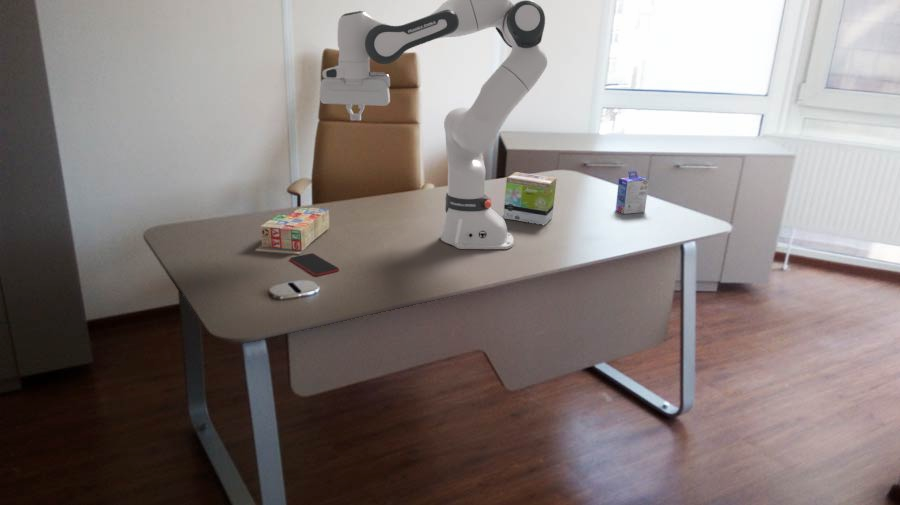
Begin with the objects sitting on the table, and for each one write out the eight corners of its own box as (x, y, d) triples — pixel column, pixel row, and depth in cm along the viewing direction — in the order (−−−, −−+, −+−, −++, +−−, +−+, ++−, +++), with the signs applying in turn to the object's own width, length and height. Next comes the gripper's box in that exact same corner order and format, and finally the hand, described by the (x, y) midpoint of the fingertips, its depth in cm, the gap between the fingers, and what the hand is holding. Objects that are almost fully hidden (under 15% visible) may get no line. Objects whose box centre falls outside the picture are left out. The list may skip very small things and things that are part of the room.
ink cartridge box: (635, 208, 240) (641, 169, 235) (645, 212, 235) (651, 173, 230) (614, 210, 236) (619, 171, 231) (623, 214, 232) (629, 174, 227)
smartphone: (312, 252, 182) (340, 269, 171) (312, 255, 182) (340, 272, 172) (288, 258, 178) (315, 274, 167) (288, 261, 178) (315, 278, 167)
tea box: (502, 219, 220) (505, 177, 215) (511, 212, 229) (514, 171, 224) (545, 226, 215) (549, 182, 210) (553, 218, 224) (557, 176, 219)
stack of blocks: (330, 228, 203) (293, 224, 205) (329, 208, 201) (292, 205, 203) (301, 251, 183) (261, 246, 186) (300, 230, 181) (259, 226, 183)
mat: (325, 227, 205) (325, 226, 204) (299, 255, 181) (299, 253, 181) (285, 224, 206) (284, 223, 206) (254, 251, 182) (254, 250, 182)
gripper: (392, 71, 188) (392, 119, 193) (322, 69, 190) (325, 117, 195) (388, 73, 182) (388, 123, 187) (316, 71, 184) (319, 120, 189)
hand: (355, 120), depth 191 cm, fingers closed
